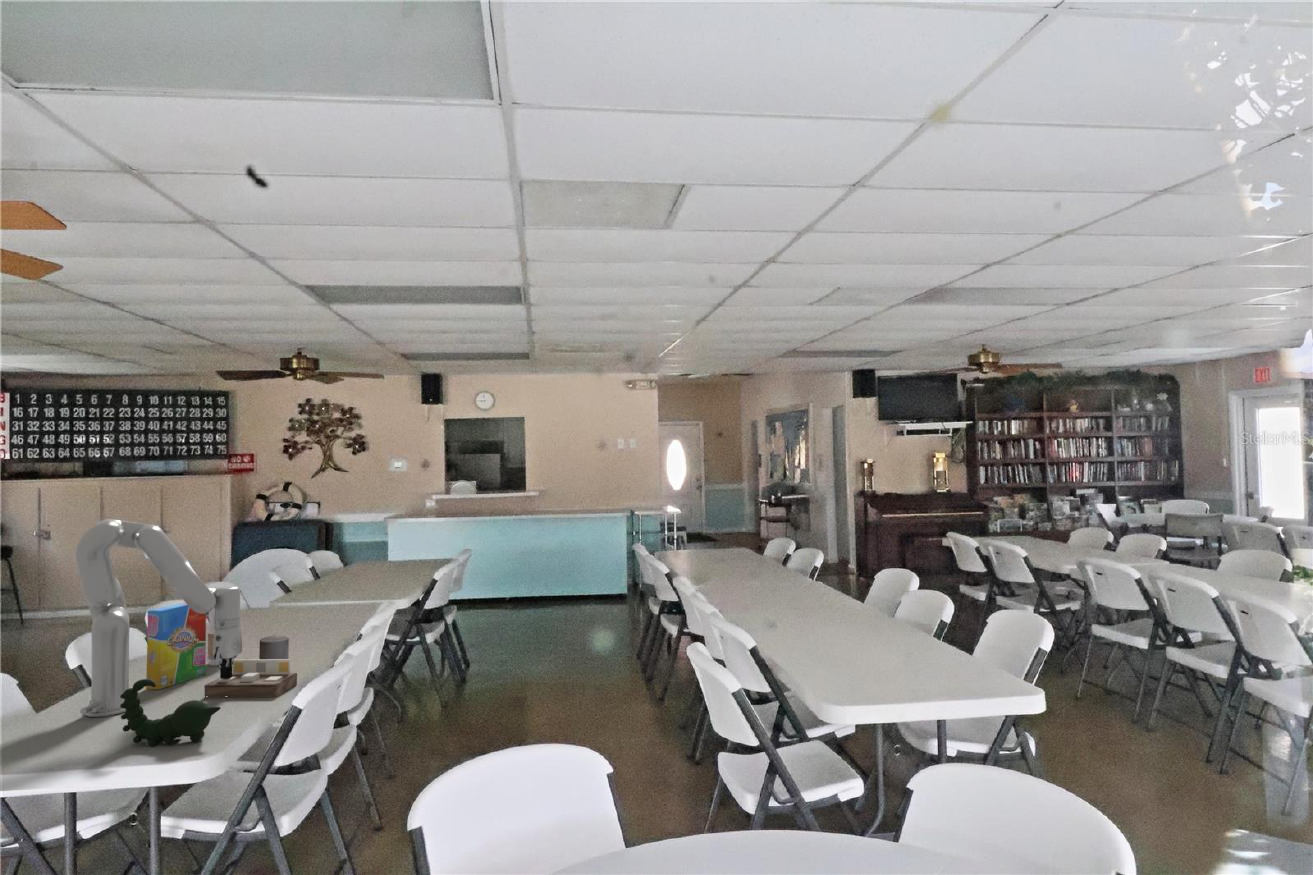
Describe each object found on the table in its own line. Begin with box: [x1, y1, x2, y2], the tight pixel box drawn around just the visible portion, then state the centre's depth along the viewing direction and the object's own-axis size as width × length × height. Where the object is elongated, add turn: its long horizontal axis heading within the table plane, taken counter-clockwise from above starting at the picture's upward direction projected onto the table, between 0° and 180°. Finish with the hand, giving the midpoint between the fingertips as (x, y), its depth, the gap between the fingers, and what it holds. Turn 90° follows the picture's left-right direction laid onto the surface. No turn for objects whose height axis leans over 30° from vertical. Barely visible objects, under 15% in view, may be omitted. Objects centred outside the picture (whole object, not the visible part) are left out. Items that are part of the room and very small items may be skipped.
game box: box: [145, 601, 207, 690], centre depth 269 cm, size 21×6×27 cm, turn 168°
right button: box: [265, 676, 283, 682], centre depth 255 cm, size 4×4×2 cm
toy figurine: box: [120, 678, 221, 747], centre depth 209 cm, size 9×19×25 cm
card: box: [232, 658, 291, 675], centre depth 262 cm, size 1×20×5 cm, turn 89°
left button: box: [218, 677, 236, 682], centre depth 255 cm, size 4×4×2 cm
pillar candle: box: [258, 635, 290, 659], centre depth 274 cm, size 10×10×15 cm
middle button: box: [241, 673, 259, 682], centre depth 255 cm, size 4×4×2 cm
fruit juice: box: [207, 608, 236, 666], centre depth 294 cm, size 9×9×28 cm
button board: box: [204, 672, 298, 698], centre depth 256 cm, size 14×24×4 cm, turn 89°
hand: (226, 677), depth 255 cm, fingers closed
